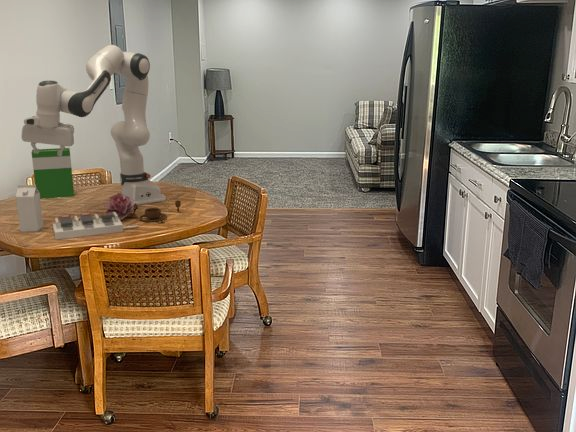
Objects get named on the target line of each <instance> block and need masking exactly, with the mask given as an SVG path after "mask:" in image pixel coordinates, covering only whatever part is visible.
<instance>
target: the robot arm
mask: <svg viewBox="0 0 576 432" xmlns="http://www.w3.org/2000/svg"><path fill="white" fill-rule="evenodd" d="M150 63H151V62H150V60H149V58H148V56H146V55H145V54H142V53H139V52H138V53H136V52H133V51H123V50H122V49H121V48H120V47H119V46H118V45H115V44H108V45H106V46H105V47H103V48H101V49H99V50H98V51H97V52H96V53H94V54H93V55H92V56H91V57H90V59H89V60H88V61H87V62H86V63H85V70H86V73H87V75H88V77H89V78H90V79H91V80H92V81H91V83H90V84H89V85H88V87H87V88H86V89H85V90H83V91H78V90H77V91H76V90H71V89H67V88H65V87H64V86H62V85H60V83H59V82H58V81H57V80H42V81H40V82H39V83H38V85H37V87H36V96H35V99H36V101H35V102H36V106H37V109H36V113H35V114H36V115H33V116H31V117H26V118H24V119H23V123H24V125H23V126H22V128H21V140H22V141H23V142H26V143H30V146H31V147H32V150H34V153H37V154H38V153H39V149H40V148H37V146H36V145H37V144H44V145H53V146H59V148H61V150H60V151H58V152H57V156H62V151H63V150H64V148H66V147H72V146H73V145H74V144H75V140H74V139H75V138H74V137H75V135H74V133H75V127H74V125H72V124H71V123H66V122H60V121H61V116H60V115H61V114H60V112H61V113H65V114H70V115H73V116H76V117H80V118H86V117H87V116H89V115H90V114H91V113H92V111H93V110H94V107H95V105H96V103H97V101H99V99H100V98H101V96H102V95H103V93H104V92H105V91H106V90H107V88H108V87H109V85H110V83H111V81H112V76H113V75H118V76H124V77H125V80H126V81H125V86H124V90H123V95H122V96H123V97H122V104H121V110H122V111H123V116H124V120H121V121H116V122H115V123H113V124H112V126H111V128H110V135H111V137H112V139H113V141H114V143H115V145H116V149H117V153H118V157H119V165H120V166H119V167H120V174H119V179H120V181H119V182H120V185H121V189H120V190H121V191H120V194H123V195H125V196H128V197H129V198H130V201H132V200H133V199H134V200H135V201H134V204H137V206H139V205H146V204H152V203H157V202H158V203H159V202H165V201H166V200H167V197H166V195H164V194H163V193H162V191H161V188H160V186H159V185H158V184H156V183H154V182H153V181H151V180H150V178H151V174H150V173H147V172H145V167H144V156H143V154H142V153H141V151H140V149H139V147H141V146H145V145H146V144H147V143H148V142H149V141H150V138H151V137H150V135H151V134H150V131H149V129H148V126H147V120H146V117H147V116H146V110H147V104H148V103H147V102H148V96H149V76H148V74H149V72H150V69H151V68H150V67H151V64H150Z"/></svg>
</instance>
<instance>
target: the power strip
mask: <svg viewBox="0 0 576 432" xmlns="http://www.w3.org/2000/svg"><path fill="white" fill-rule="evenodd" d="M73 217H74V221H72V222H73V225H70V226H61V222H60V220H59V219H58V217H55V218H54V223H52V229H53V233H54V238H55V240H65V239H72V238H82V237H89V236H98V235H99V236H100V235H107V234H115V233H122V232H123V233H124V230H129V229H137V228H139V225H137V224H136V225H128V226H124V225H123V223H122V221H121V220H119V218H118V215H117V214H116V212H113V218H110V219H102V218H100V216H99V215H98V214H97V213H94V218H93V222H94V223H88V224H82V221H81V220H79V218H78V216H77V215H74V216H73Z"/></svg>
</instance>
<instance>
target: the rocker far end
mask: <svg viewBox="0 0 576 432" xmlns="http://www.w3.org/2000/svg"><path fill="white" fill-rule="evenodd" d="M73 222H74V221H73V218H72V215H71V214H64V215H63V214H62V215H59V223H61V226H70V225H73Z"/></svg>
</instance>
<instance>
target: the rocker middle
mask: <svg viewBox="0 0 576 432" xmlns="http://www.w3.org/2000/svg"><path fill="white" fill-rule="evenodd" d="M79 217H80V221H82V224H88V223H94V222H93V219H94V218H93V215H92V212H82V213H80V214H79Z"/></svg>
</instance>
